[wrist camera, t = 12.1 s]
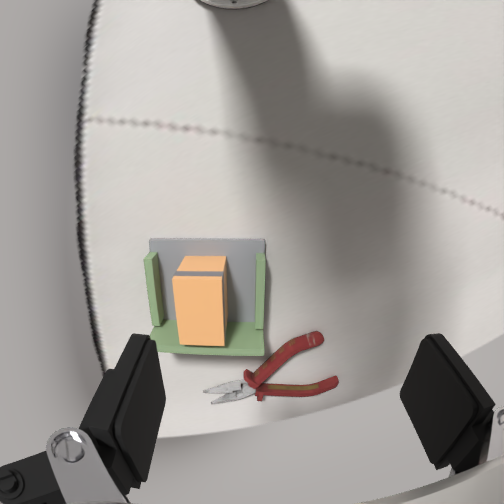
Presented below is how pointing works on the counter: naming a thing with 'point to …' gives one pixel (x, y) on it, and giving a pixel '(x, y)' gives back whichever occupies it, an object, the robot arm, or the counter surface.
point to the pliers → (254, 380)
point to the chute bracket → (238, 293)
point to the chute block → (201, 300)
